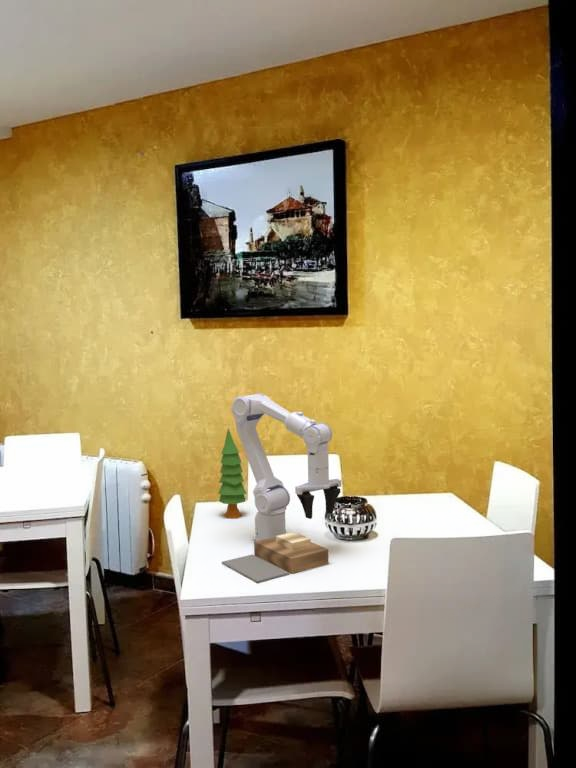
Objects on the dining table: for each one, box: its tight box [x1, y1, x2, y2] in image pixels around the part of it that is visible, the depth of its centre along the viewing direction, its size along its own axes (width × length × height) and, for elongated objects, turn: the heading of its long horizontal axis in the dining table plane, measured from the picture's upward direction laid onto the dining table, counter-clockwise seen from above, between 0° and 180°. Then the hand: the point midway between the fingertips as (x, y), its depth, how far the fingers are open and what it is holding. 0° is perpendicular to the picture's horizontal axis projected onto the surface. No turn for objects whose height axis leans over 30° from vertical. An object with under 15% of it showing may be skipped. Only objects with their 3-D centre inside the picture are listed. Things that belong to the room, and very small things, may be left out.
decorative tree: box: [217, 428, 247, 519], centre depth 234 cm, size 10×9×30 cm
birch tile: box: [276, 531, 312, 550], centre depth 190 cm, size 8×6×2 cm
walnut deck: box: [253, 537, 329, 575], centre depth 190 cm, size 18×12×4 cm, turn 35°
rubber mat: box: [221, 553, 290, 584], centre depth 184 cm, size 18×10×1 cm, turn 35°
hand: (319, 515), depth 195 cm, fingers open, 7 cm apart
